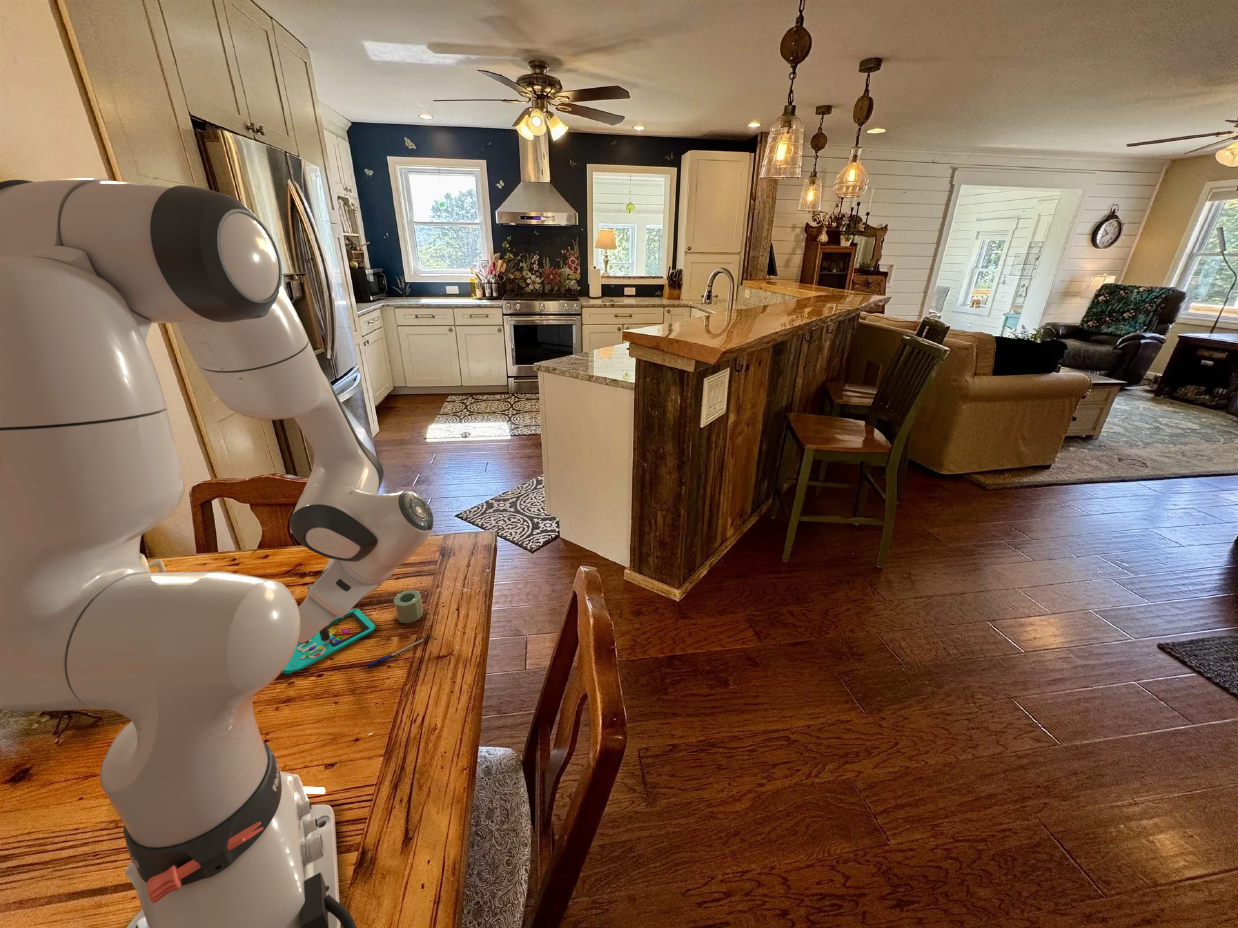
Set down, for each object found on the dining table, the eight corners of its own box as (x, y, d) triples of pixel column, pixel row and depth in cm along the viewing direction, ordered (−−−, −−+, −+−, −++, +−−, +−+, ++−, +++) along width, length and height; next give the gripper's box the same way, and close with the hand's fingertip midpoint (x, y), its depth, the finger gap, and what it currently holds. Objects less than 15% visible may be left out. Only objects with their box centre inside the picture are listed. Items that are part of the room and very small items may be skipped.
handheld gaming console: (266, 648, 84) (356, 606, 95) (268, 653, 85) (357, 610, 95) (284, 674, 79) (377, 626, 90) (286, 679, 80) (378, 630, 90)
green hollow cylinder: (427, 617, 94) (424, 598, 92) (402, 628, 91) (399, 608, 89) (418, 605, 97) (414, 586, 95) (394, 615, 94) (390, 596, 93)
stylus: (331, 642, 86) (316, 586, 82) (323, 645, 85) (308, 589, 81) (329, 638, 87) (315, 582, 82) (321, 641, 86) (306, 585, 82)
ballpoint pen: (368, 672, 82) (367, 667, 81) (366, 669, 82) (365, 664, 82) (429, 640, 89) (428, 636, 88) (426, 638, 89) (426, 633, 89)
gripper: (377, 522, 88) (335, 564, 92) (303, 594, 69) (255, 643, 74) (405, 544, 90) (362, 585, 94) (340, 621, 71) (291, 667, 75)
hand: (314, 611), depth 84 cm, fingers closed on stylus, 1 cm apart
